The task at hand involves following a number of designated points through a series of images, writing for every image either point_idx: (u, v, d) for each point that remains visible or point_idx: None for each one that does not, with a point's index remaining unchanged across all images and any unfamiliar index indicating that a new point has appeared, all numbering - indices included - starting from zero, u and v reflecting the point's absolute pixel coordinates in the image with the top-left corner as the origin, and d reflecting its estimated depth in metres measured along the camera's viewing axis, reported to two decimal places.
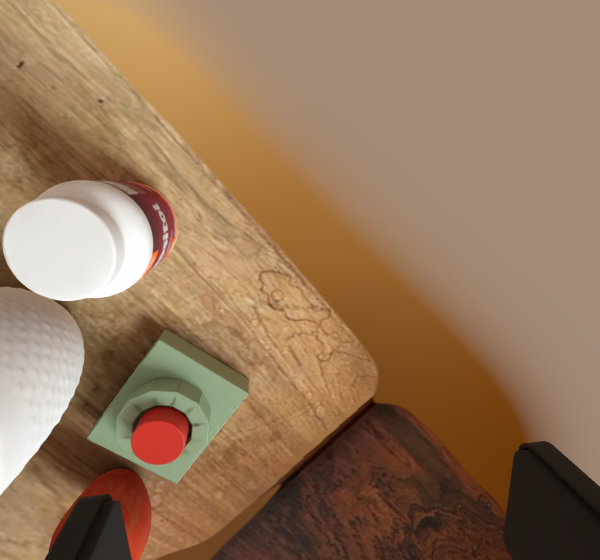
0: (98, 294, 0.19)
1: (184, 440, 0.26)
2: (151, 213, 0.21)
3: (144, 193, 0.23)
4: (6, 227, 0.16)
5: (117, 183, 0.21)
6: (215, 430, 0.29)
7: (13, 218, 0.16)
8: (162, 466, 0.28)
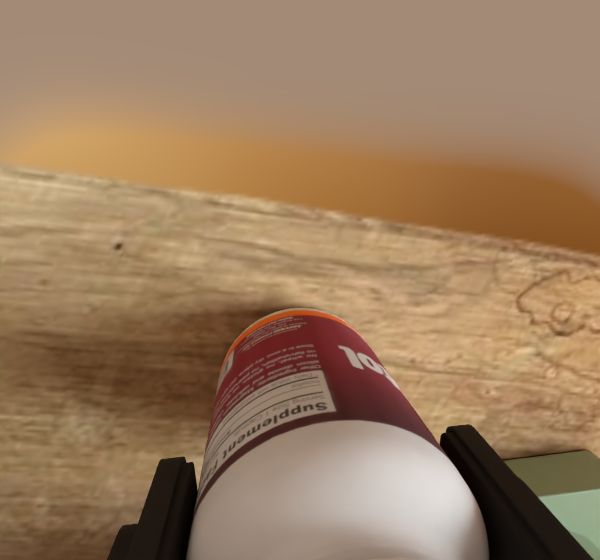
0: None
1: None
2: (383, 395, 0.09)
3: (314, 349, 0.10)
4: None
5: (275, 385, 0.09)
6: None
7: None
8: None
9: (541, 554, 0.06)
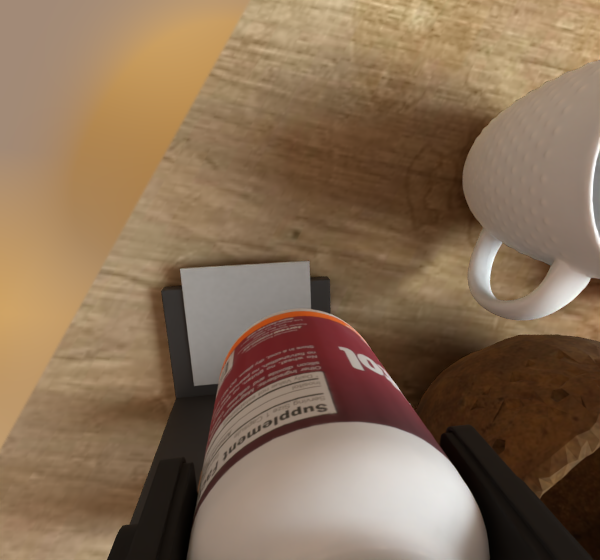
0: None
1: None
2: (383, 396, 0.09)
3: (314, 351, 0.10)
4: None
5: (275, 386, 0.09)
6: None
7: None
8: None
9: (541, 554, 0.06)
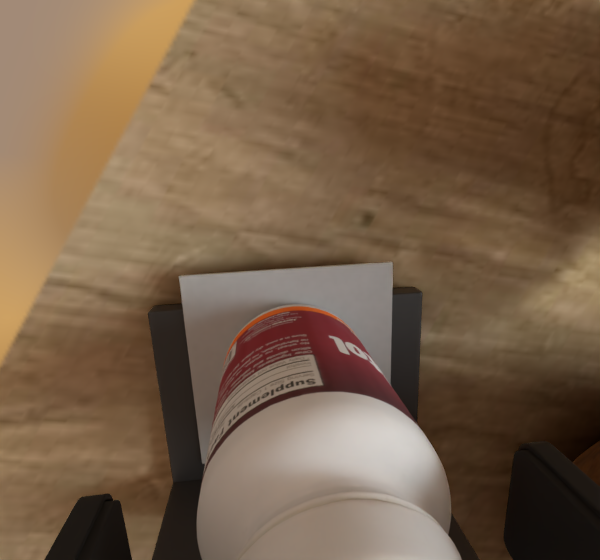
0: None
1: None
2: (364, 374, 0.10)
3: (307, 338, 0.12)
4: None
5: (272, 367, 0.10)
6: None
7: None
8: None
9: None
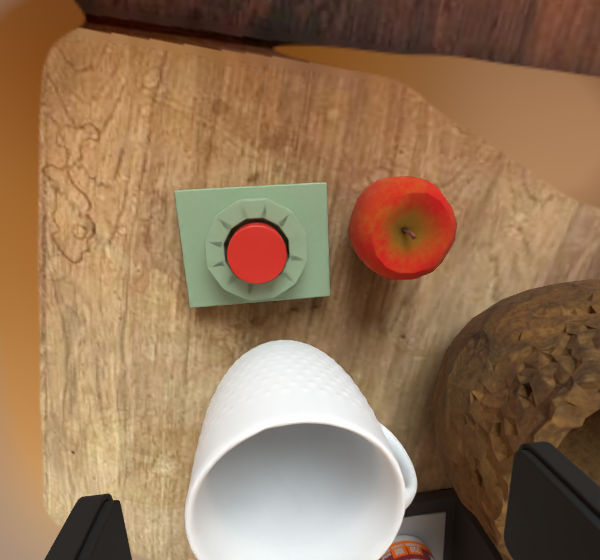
0: None
1: (237, 233, 0.22)
2: None
3: None
4: None
5: None
6: (238, 191, 0.24)
7: None
8: (295, 222, 0.24)
9: None
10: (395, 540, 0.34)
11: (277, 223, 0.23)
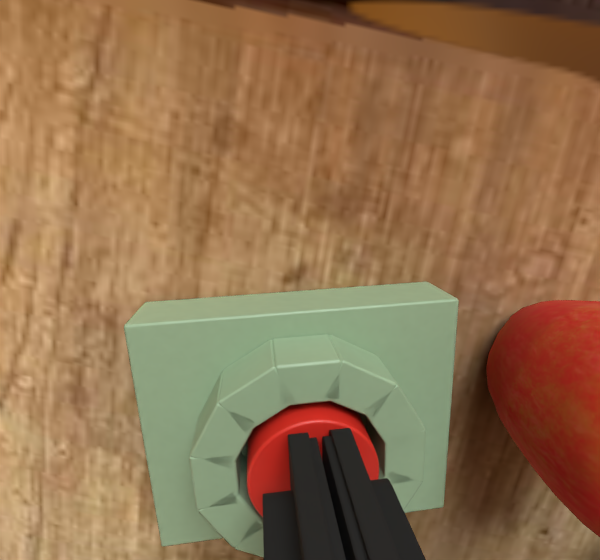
0: None
1: (271, 436, 0.10)
2: None
3: None
4: None
5: None
6: (269, 322, 0.11)
7: None
8: (404, 407, 0.10)
9: (360, 558, 0.06)
10: None
11: (363, 411, 0.10)
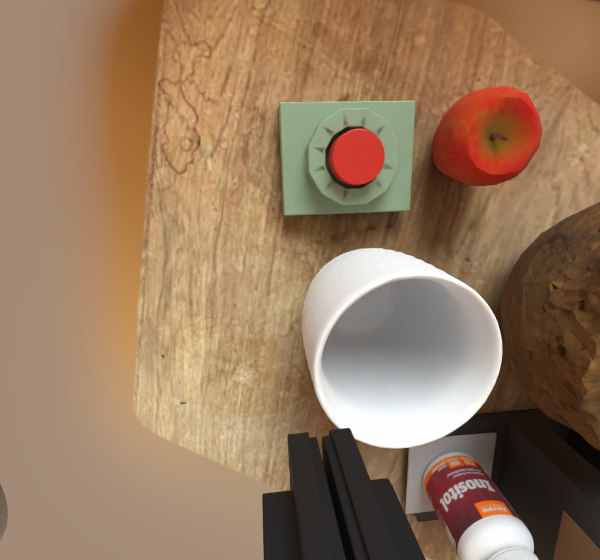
0: (526, 535, 0.29)
1: (342, 135, 0.25)
2: (455, 520, 0.32)
3: (439, 512, 0.34)
4: None
5: None
6: (336, 105, 0.27)
7: None
8: (390, 132, 0.26)
9: (360, 558, 0.06)
10: (450, 455, 0.37)
11: (374, 132, 0.26)
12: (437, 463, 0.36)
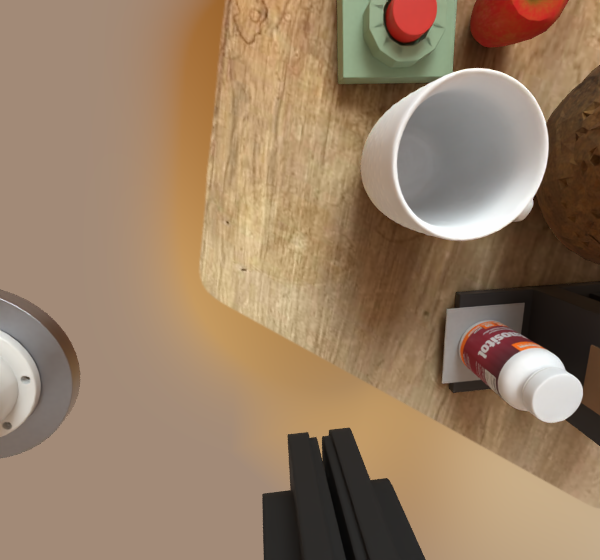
0: (560, 362, 0.33)
1: None
2: (494, 360, 0.35)
3: (478, 363, 0.37)
4: (558, 421, 0.32)
5: (486, 380, 0.36)
6: None
7: (552, 421, 0.32)
8: None
9: (360, 558, 0.06)
10: (483, 321, 0.40)
11: None
12: (472, 328, 0.40)
